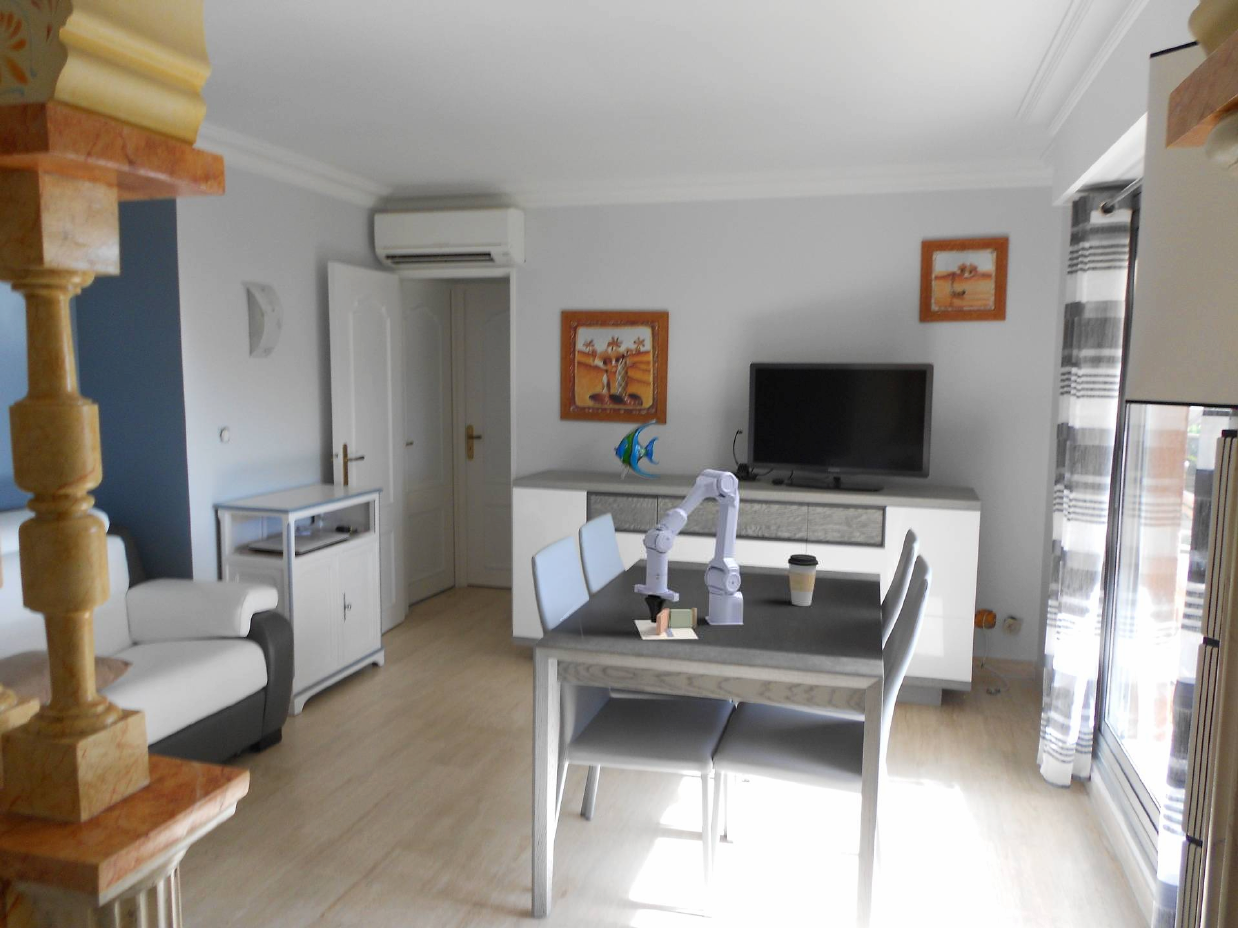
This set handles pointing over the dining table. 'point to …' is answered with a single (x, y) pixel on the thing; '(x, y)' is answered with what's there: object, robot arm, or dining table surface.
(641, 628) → the card
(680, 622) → the fence fixed
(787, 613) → the dining table surface
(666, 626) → the fence panel
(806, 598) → the coffee cup
